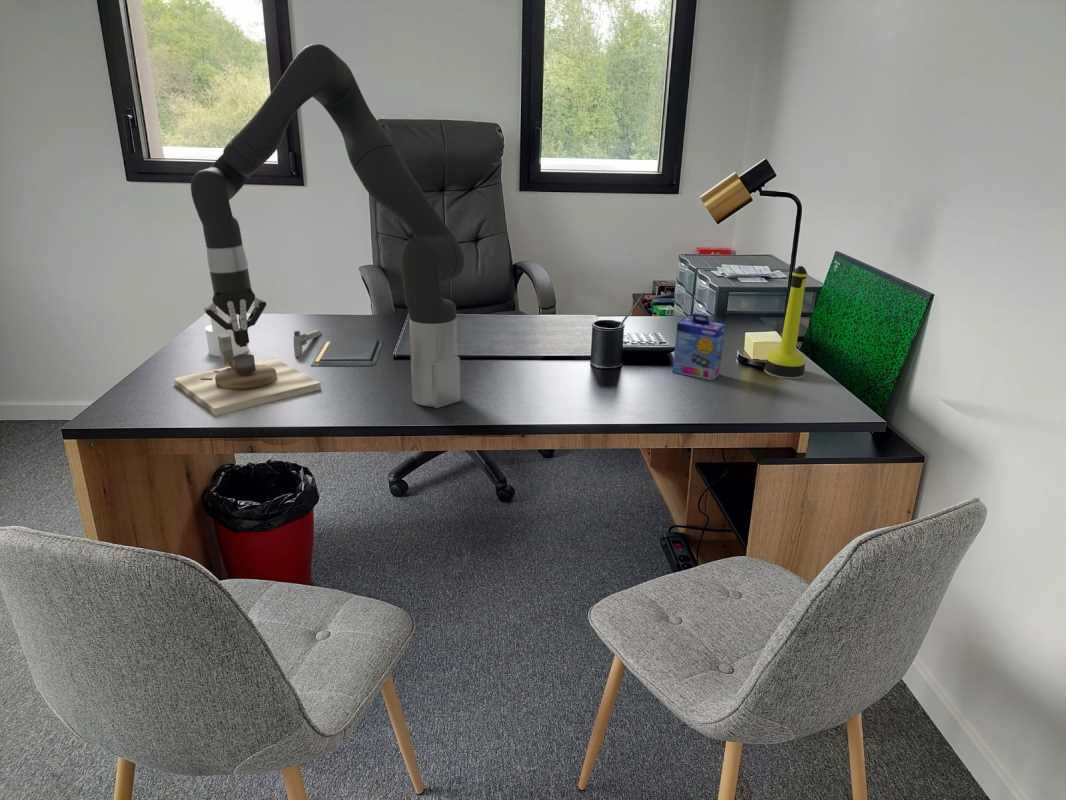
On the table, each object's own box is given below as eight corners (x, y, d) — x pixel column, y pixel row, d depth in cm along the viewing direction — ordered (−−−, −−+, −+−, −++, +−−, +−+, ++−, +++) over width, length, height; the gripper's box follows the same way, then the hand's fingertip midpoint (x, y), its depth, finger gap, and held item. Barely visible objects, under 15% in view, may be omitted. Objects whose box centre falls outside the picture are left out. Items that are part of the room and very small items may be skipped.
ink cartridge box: (671, 373, 166) (677, 312, 161) (679, 366, 170) (685, 307, 165) (712, 381, 161) (720, 318, 156) (720, 374, 166) (727, 313, 160)
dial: (286, 380, 151) (282, 348, 148) (228, 393, 143) (223, 359, 140) (253, 360, 162) (249, 330, 160) (198, 370, 155) (193, 339, 152)
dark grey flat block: (374, 361, 165) (307, 361, 164) (374, 369, 166) (307, 369, 165) (385, 336, 184) (325, 336, 183) (386, 343, 184) (326, 343, 183)
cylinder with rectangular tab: (216, 344, 178) (209, 297, 174) (253, 345, 179) (247, 298, 174) (202, 356, 170) (195, 306, 165) (241, 356, 170) (234, 307, 166)
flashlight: (829, 270, 155) (812, 262, 163) (789, 269, 155) (774, 261, 163) (810, 378, 164) (795, 366, 173) (772, 378, 164) (758, 366, 172)
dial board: (320, 389, 151) (320, 381, 151) (215, 415, 137) (214, 407, 136) (274, 363, 166) (273, 356, 165) (174, 385, 152) (173, 377, 151)
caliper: (299, 358, 170) (297, 333, 168) (294, 358, 170) (292, 333, 168) (321, 334, 190) (319, 310, 187) (317, 333, 190) (315, 310, 187)
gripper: (257, 260, 157) (269, 336, 164) (191, 268, 151) (207, 347, 157) (265, 266, 151) (277, 344, 158) (197, 274, 145) (213, 356, 151)
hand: (242, 345), depth 158 cm, fingers closed
